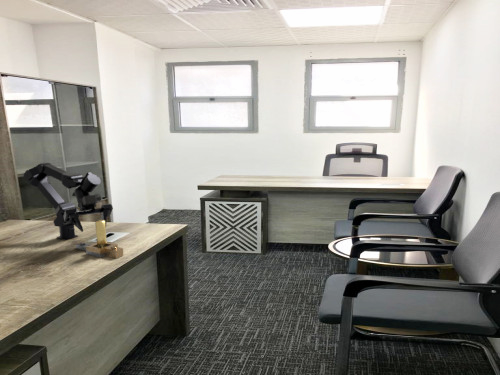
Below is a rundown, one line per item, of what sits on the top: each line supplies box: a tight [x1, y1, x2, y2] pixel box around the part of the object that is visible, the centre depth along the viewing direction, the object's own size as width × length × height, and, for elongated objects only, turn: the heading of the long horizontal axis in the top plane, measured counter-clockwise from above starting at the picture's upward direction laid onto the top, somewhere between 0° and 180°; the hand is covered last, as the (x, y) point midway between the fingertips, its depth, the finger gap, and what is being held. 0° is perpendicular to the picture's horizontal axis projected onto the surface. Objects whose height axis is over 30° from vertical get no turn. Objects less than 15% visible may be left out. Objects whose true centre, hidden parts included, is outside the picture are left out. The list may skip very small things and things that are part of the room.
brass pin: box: [95, 219, 108, 248], centre depth 147 cm, size 4×4×13 cm
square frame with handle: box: [75, 241, 124, 259], centre depth 149 cm, size 24×8×3 cm, turn 60°
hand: (94, 229), depth 153 cm, fingers open, 9 cm apart
